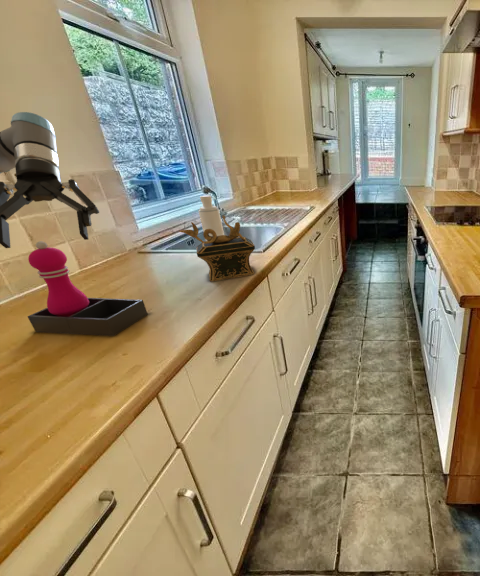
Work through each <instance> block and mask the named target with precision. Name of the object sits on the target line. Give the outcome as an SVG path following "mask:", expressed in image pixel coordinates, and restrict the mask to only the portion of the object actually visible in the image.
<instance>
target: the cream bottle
mask: <svg viewBox="0 0 480 576" xmlns="http://www.w3.org/2000/svg"><path fill="white" fill-rule="evenodd" d="M199 198H200V202H201V203H202V204H201V205H202V206H200V207H199V209H197V210H198V215H199V218H200V224H201V227H202V232H203V233H204V231H205V230H206V229H212V230H214V231H215V232H216V235H217V236H220V235H225V231H224V227H223V222H222V218H221V217H222V216H221V213H220V209H219V207H217V206H216V205H213V199H212V198H213V197H212V195H209V194H208V195H200V196H199ZM209 236H212V234H211V233H209ZM204 239H205V238H204ZM205 241H207V240H206V239H205Z"/></svg>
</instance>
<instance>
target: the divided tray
mask: <svg viewBox="0 0 480 576" xmlns="http://www.w3.org/2000/svg"><path fill="white" fill-rule="evenodd" d="M87 298H88V300H89V305H88V307H87V308H85V309H83V310H81V311H79V312H77V313H75V314H73V315H71V316H69V317H58V316H56V315H53V314H51V313H50V312H49V310H48V307H45V308H43V309H40V310H39V311H37V312H34V313H31V314H29V315H26V316H27V318H28V320H29V323H30V324H31V327H32V328H33V330H34V331H35V333H44V334H45V333H46V334H64V335H66V334H67V335H82V336H83V335H85V336H104V337H106V336H107V337H115V336H116V335H118V334H119V333H121V332H122V331H124V330H126V329H127V328H129V327H130V326H133V325H134V324H135V323H137V322H139V321H140V320H142V319H143V318H145V317H146V316H148V315H149V313H148V311H147V308H146V305H145V302H144V299H133V298H132V299H131V298H105V297H87Z"/></svg>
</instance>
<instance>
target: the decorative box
mask: <svg viewBox="0 0 480 576" xmlns="http://www.w3.org/2000/svg"><path fill="white" fill-rule="evenodd" d="M221 217H222V220H223V224H225V226H227V227H228V229H229V234H228V235H226V234H224V235H220V236H217V235H216V232H215V231H214V230H212V229H206V230H205V231H204V232H203V234H202V235H203V238H204V239H206V240H207V241H206V240H205V241H204V240H203V239H201V238H200V237H199V236H198V235H199V228H198V227H197V225H196V224H195V223H194V222H193V221H191V222H190V223H191V227H192V229H180V230H179V233H183V234H186V235H188V236H190V238H194V239H196V240H197V241H199V242H201V243H200V244H198V245H197V246H196V256H197V257H198V258H199V259H201V260H202V261H204V262H205V263H206V264H207V265H208V268H209V270H208V278H209V282H217V281H223V280H229V279H230V280H231V279H235V278H240V277H248V276H252V275H254V274H255V271H254V270H253V268H252V266H251V264H250V256H251V255H252V254H253V252H254V251H255V249H256V245H255V243H254V242H253V241H252V240H251V239H250V238H247V237H246V236H243V235H242V234H241V233H240V230H241V223H240V222H239V221H237V222H234V226H231V225H230V224H229V223H228V222H227V221H226V218H227V217H226V215H225V214H224V213H223V214H221ZM209 233H211V234H212V236H209Z"/></svg>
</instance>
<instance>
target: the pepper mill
mask: <svg viewBox="0 0 480 576" xmlns="http://www.w3.org/2000/svg"><path fill="white" fill-rule="evenodd" d="M35 247H36V248H37V249H34V250H33V251H31V253H30V254H28V259H27V260H28V263H29V265H30V267H32V268H33V269H36V270H37V274H38V275H39V276H38V277H39V278H41V279H43V280H44V282H45V283H46V286H47V290H48V292H47V293H48V294H47V299H46V308H48V310H49V312H50V313H51V314H53V315H56V316H58V317H69V316H71V315H73V314H75V313H77V312H79V311H81V310H83V309H85V308H87V307H88V305H89V300H88V298H89V297H87V295H86V294H85V293H84V292H83V291H82V290H80V289H79V288H77V286H75V285H74V283H73V282H72V280H71V278H70V275H69V273H70V270H69V267H68V265H66V263H67V261H68V257H67V256H66V254H65V252H63V251H62V250H61V249H60V248H57V247H49V246H48V244H47V242H46V241H37V242H36V243H35Z"/></svg>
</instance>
